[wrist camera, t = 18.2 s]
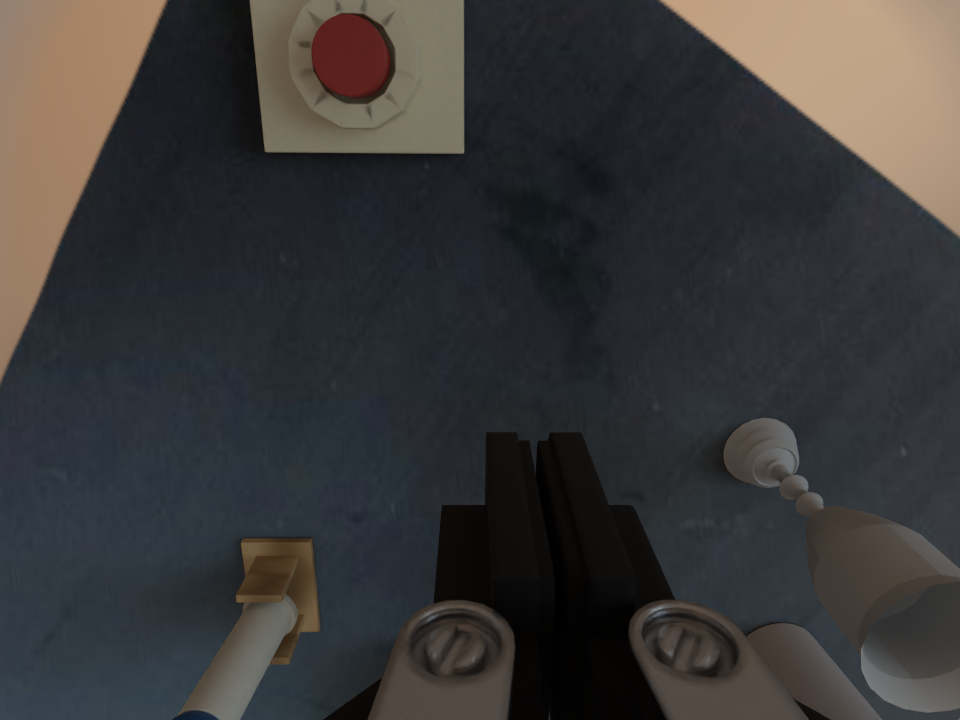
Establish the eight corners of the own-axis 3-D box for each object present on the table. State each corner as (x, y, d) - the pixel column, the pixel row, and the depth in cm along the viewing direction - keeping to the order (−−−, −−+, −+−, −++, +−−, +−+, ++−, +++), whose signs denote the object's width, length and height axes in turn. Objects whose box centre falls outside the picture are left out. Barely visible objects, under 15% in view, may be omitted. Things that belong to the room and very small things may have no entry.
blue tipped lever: (141, 807, 33) (211, 814, 32) (128, 753, 32) (200, 760, 31) (249, 629, 45) (300, 633, 44) (242, 585, 44) (295, 589, 43)
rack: (255, 626, 48) (232, 677, 43) (243, 537, 45) (217, 581, 41) (321, 626, 48) (305, 677, 43) (312, 537, 45) (295, 581, 41)
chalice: (687, 459, 44) (825, 662, 27) (755, 385, 42) (949, 552, 25) (764, 511, 45) (940, 736, 28) (832, 442, 43) (1065, 636, 26)
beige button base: (276, 151, 37) (253, 153, 33) (259, -25, 34) (232, -46, 30) (464, 153, 37) (463, 154, 33) (464, -23, 34) (463, -43, 30)
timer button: (322, 98, 32) (314, 96, 31) (316, 20, 31) (308, 13, 30) (391, 99, 32) (387, 96, 31) (388, 20, 31) (384, 14, 30)
